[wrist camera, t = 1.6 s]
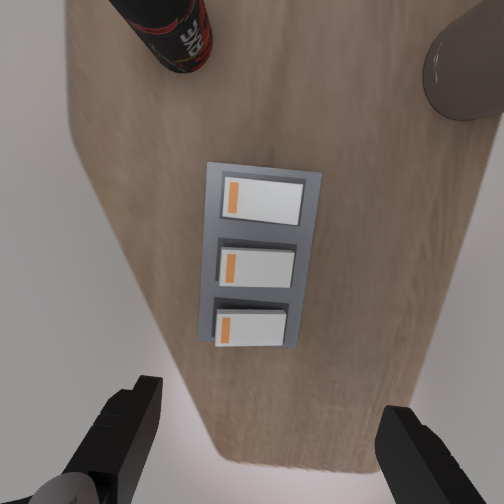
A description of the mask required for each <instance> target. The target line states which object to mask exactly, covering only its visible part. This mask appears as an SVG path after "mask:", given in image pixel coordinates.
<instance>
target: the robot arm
mask: <svg viewBox="0 0 504 504" xmlns="http://www.w3.org/2000/svg"><path fill="white" fill-rule="evenodd" d="M423 81H424V88H425V92H426V95H427V97H428V99H429V101H430V103H431V105H432V106H433V107H434V108H435V109H436V110H437V111H438V112H439V113H441V114H442V115H444V116H445V117H448V118H451V119H454V120H471V119H476V118H481V117H485V116H489V115H494V114H498V113H503V112H504V0H483V1H481V2H480V3H479V4H477V5H476V6H474V7H473V8H472V9H470V10H469V11H468V12H466V13H465V14H464V15H462V16H461V17H459V18H458V19H457V20H455V21H454V22H453V23H451V24H450V25H449V26H448V27H447V28H445V29H444V30H443V31H442V32H441V33H440V34H439V36H438V37H437V38H436V40H435V41H434V42H433V44H432V46H431V48H430V50H429V52H428V54H427V57H426V61H425V64H424V72H423ZM162 387H163V378H161V377H153V376H144V375H141V376H140V377H139V379H138V381H137V382H136V384H135V386H134V388H133V390H126V389H121V390H120V391H119V392H117V393H116V394H115V395H113V396H112V397H111V398H110V399H108V401H107V403H106V404H105V406H104V407H103V409H102V410H101V413H100V415H98V417H97V419H96V420H95V422H94V423H93V426H91V428H90V430H89V431H88V433H87V434H86V436H85V438H84V439H83V441H82V442H81V444H80V446H79V447H78V449H77V450H76V452H75V453H74V455H73V457H72V458H71V460H70V462H69V463H68V465H67V466H66V468H65V469H64V471H63V472H62V474H61V475H59V476H57V477H55V478H53V479H51V480H49V481H48V482H46V483H45V484H44V485H42V486H41V487H40V488H39V489H38V490H37V492H36V493H35V494H34V495H32V496H30V497H27V498H23V499H20V500H15V501H11V502H6V503H1V504H131V501H132V498H133V495H134V493H135V490H136V487H137V484H138V481H139V479H140V476H141V473H142V470H143V468H144V465H145V462H146V460H147V457H148V454H149V452H150V449H151V446H152V443H153V441H154V438H155V435H156V432H157V429H158V425H159V420H160V412H161V399H162ZM375 454H376V458H377V460H378V463H379V465H380V467H381V470H382V472H383V474H384V477H385V479H386V481H387V484H388V486H389V488H390V490H391V493H392V495H393V497H394V499H395V502H396V504H486V502H485V501H484V500H483V498H482V497H481V495H480V494H479V493H478V491H477V490H476V488H475V487H474V485H473V484H472V483H471V481H470V480H469V478H468V477H467V476H466V474H465V473H464V471H463V470H462V469H460V467H459V464H458V463H457V461H456V460H455V459H454V457H453V456H451V453H450V451H449V450H448V449H447V447H446V446H445V444H444V443H443V441H442V440H441V439H440V438H439V437H438V436H437V435H436V434H435V433H434V432H433V431H431V430H430V429H429V428H428V427H427V426H426V425H422V424H421V423H420V421H419V420H418V418H417V417H416V415H415V414H414V412H413V411H412V410H411V409H410V408H408V407H400V406H391V405H387V406H386V407H385V408H384V411H383V414H382V418H381V421H380V424H379V428H378V431H377V435H376V438H375Z"/></svg>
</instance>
